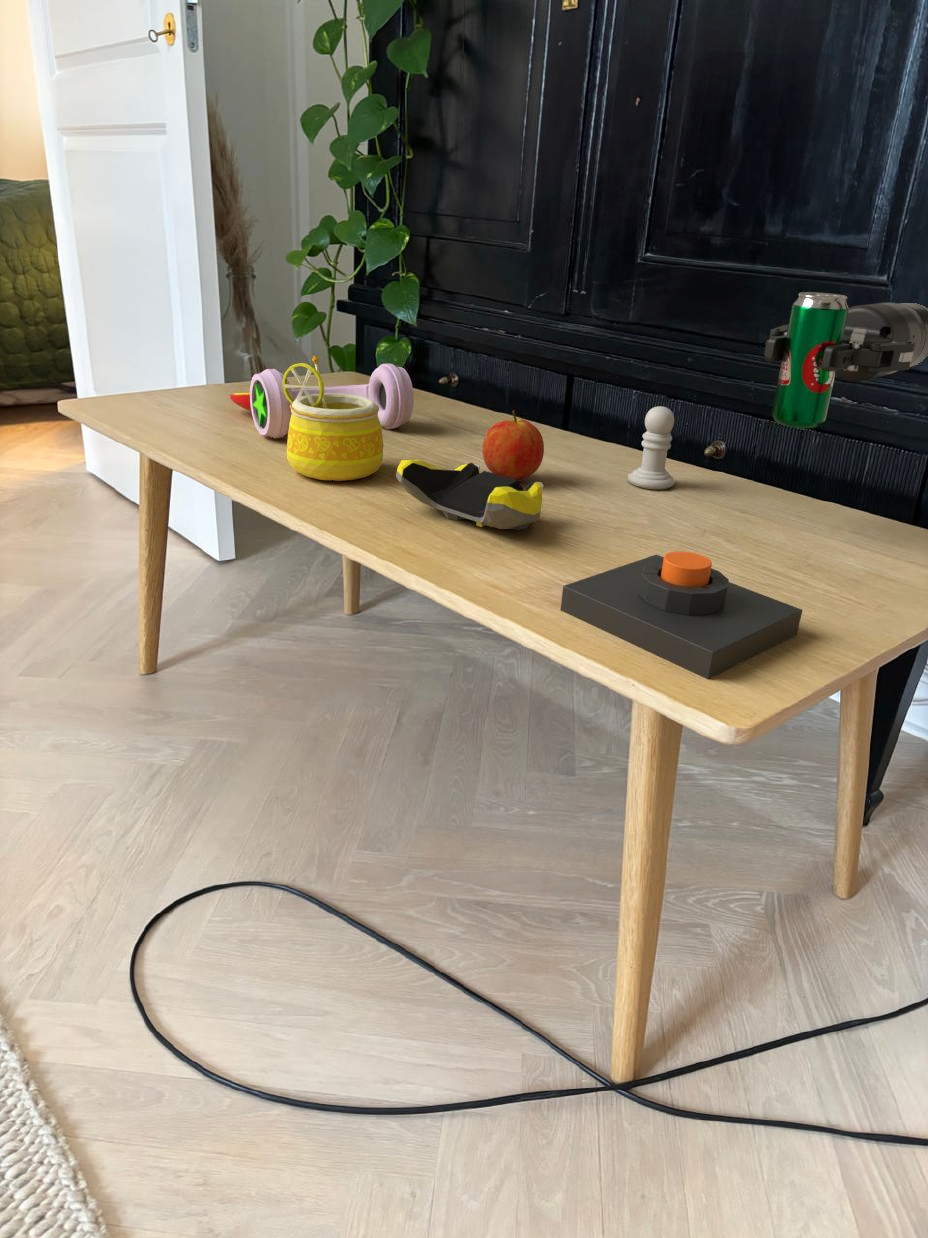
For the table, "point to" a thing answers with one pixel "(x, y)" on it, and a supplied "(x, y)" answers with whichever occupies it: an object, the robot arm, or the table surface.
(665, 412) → the chess piece
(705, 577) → the orange push button
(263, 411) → the headphones
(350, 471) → the yellow drink pot
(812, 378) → the soda can
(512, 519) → the shoe
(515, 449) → the fruit
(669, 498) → the table surface
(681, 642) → the push button base
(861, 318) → the robot arm
